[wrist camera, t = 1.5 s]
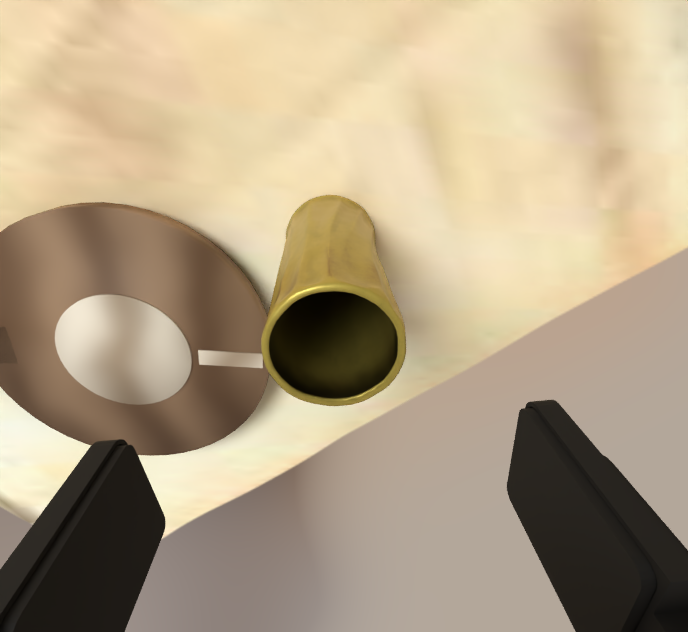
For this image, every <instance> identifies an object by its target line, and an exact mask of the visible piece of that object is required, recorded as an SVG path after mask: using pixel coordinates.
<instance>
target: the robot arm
mask: <svg viewBox="0 0 688 632" xmlns="http://www.w3.org/2000/svg"><path fill="white" fill-rule="evenodd" d="M507 491H508V495H509V498H510V501H511V503H512V505H513V507H514V509H515V511H516V513H517V515H518V517H519V519H520V521H521V523H522V525H523V527H524V529H525V531H526V533H527V535H528V537H529V539H530V541H531V543H532V545H533V547H534V549H535V551H536V553H537V555H538V557H539V559H540V561H541V563H542V565H543V567H544V569H545V571H546V573H547V575H548V577H549V579H550V581H551V583H552V585H553V587H554V589H555V591H556V593H557V595H558V597H559V599H560V601H561V603H562V605H563V607H564V609H565V611H566V613H567V615H568V617H569V619H570V621H571V623H572V625H573V627H574V629H575V631H576V632H688V550H687V549H686V548H685V547H684V545H683V544H682V543H681V542H680V541H679V540H678V538H677V537H676V536H675V535H674V534H673V533H672V532H671V530H670V529H669V528H668V527H667V526H666V524H665V523H664V522H663V521H662V520H661V519H660V517H659V516H658V515H657V514H656V513H655V512H654V511H653V509H652V508H651V507H650V506H649V505H648V504H647V502H646V501H645V500H644V499H643V498H642V497H641V496H640V494H639V493H638V492H637V491H636V490H635V488H634V487H633V486H632V485H631V484H630V483H629V482H628V480H627V479H626V478H625V477H624V476H623V475H622V473H621V472H620V471H619V470H618V469H617V468H616V467H615V465H614V464H613V463H612V462H611V461H610V460H609V459H608V458H607V457H605V456H603V455H602V454H601V453H600V452H599V450H598V449H597V448H596V447H595V446H594V445H593V443H592V442H591V441H590V440H589V439H588V437H587V436H586V435H585V434H584V433H583V432H582V430H581V429H580V428H579V427H578V426H577V425H576V423H575V422H574V421H573V420H572V419H571V417H570V416H569V415H568V414H567V413H566V412H565V410H564V409H563V408H562V407H561V406H560V405H559V403H557V402H556V401H554V400H545V401H534V402H528V403H527V404H526V407H525V409H521V410H520V412H519V417H518V423H517V429H516V435H515V440H514V446H513V452H512V458H511V464H510V470H509V476H508V482H507ZM164 530H165V516H164V514H163V512H162V509H161V507H160V505H159V503H158V500H157V498H156V496H155V494H154V491H153V489H152V487H151V484H150V482H149V480H148V478H147V475H146V473H145V471H144V469H143V466H142V464H141V462H140V460H139V457H138V455H137V453H136V451H135V448H134V447H133V446H132V445H128V444H127V442H126V441H125V440H123V439H118V440H107V441H97V442H95V443H94V444H93V445H92V446H91V447H90V448H89V449H88V451H87V452H86V454H85V455H84V456H83V458H82V459H81V460H80V462H79V463H78V464H77V466H76V467H75V469H74V470H73V471H72V473H71V474H70V475H69V477H68V478H67V479H66V481H65V482H64V484H63V485H62V486H61V488H60V489H59V490H58V492H57V493H56V494H55V496H54V497H53V499H52V500H51V501H50V503H49V504H48V505H47V507H46V508H45V509H44V511H43V512H42V514H41V515H40V516H39V518H38V519H37V520H36V522H35V523H34V524H33V526H32V527H31V529H30V530H29V531H28V533H27V534H26V535H25V537H24V538H23V539H22V541H21V542H20V544H19V545H18V546H17V548H16V549H15V550H14V552H13V553H12V554H11V556H10V557H9V558H8V560H7V561H6V563H5V564H4V565H3V567H2V568H1V569H0V632H125V629H126V626H127V624H128V621H129V619H130V616H131V614H132V611H133V609H134V606H135V604H136V601H137V599H138V596H139V594H140V591H141V589H142V586H143V584H144V581H145V579H146V576H147V574H148V571H149V568H150V566H151V563H152V561H153V558H154V556H155V553H156V551H157V548H158V546H159V543H160V541H161V538H162V536H163V533H164Z"/></svg>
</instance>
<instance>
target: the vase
mask: <svg viewBox="0 0 688 632" xmlns="http://www.w3.org/2000/svg"><path fill="white" fill-rule="evenodd" d="M261 350H262V356H263V360H264V363H265V366H266V368H267V370H268V372H269V373H270V375H271V376H272V377H273V379H274V380H275V381H276V382H277V383H278V385H279V386H280V387H281V388H282V389H283V390H285V391H286V392H287V393H289V394H291V395H292V396H294V397H296V398H298V399H300V400H303V401H306V402H310V403H314V404H320V405H327V406H343V405H352V404H355V403H359V402H362V401H365V400H367V399H369V398H370V397H372V396H374V395H376V394H377V393H379V392H380V391H382V390H383V389H385V388H386V387H387V386H389V385H390V384H391V382H392V381H393V380H394V379H395V377H396V376H397V374H398V373H399V371H400V369H401V367H402V365H403V362H404V359H405V354H406V336H405V326H404V322H403V318H402V315H401V313H400V311H399V308H398V306H397V303H396V301H395V298H394V296H393V293H392V291H391V288H390V286H389V283H388V280H387V278H386V275H385V272H384V270H383V267H382V265H381V263H380V261H379V259H378V255H377V252H376V249H375V231H374V227H373V224H372V222H371V220H370V218H369V216H368V215H367V213H366V212H365V210H364V209H363V208H362V207H361V206H359V205H358V204H357V203H355V202H353V201H351V200H349V199H347V198H344V197H341V196H336V195H326V196H320V197H316V198H313V199H311V200H309V201H307V202H306V203H304V204H303V205H302V206H300V207H299V208H298V209H297V210H296V212H295V213H294V214H293V216H292V217H291V219H290V222H289V224H288V227H287V231H286V242H285V246H284V252H283V256H282V259H281V263H280V267H279V271H278V275H277V280H276V284H275V288H274V292H273V297H272V301H271V305H270V309H269V313H268V316H267V320H266V323H265V327H264V330H263V333H262V337H261Z"/></svg>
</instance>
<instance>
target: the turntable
mask: <svg viewBox="0 0 688 632" xmlns="http://www.w3.org/2000/svg"><path fill="white" fill-rule="evenodd" d="M266 320H267V314H266V312H265V309H264V307H263V304H262V302H261V300H260V298H259V296H258V294H257V293H256V291H255V289H254V287H253V286H252V284H251V282H250V281H249V280H248V279H247V277H246V276H245V275H244V273H243V272H242V271H241V269H240V268H239V267H238V266H237V265H236V264H235V263H234V262H233V261H232V260H231V259H230V258H229V257H228V256H227V255H226V254H225V253H224V252H223V251H222V250H221V249H219V248H218V247H217V246H216V245H214V244H213V243H212V242H211V241H209V240H208V239H207V238H205V237H204V236H202V235H200V234H199V233H197V232H196V231H194V230H193V229H191V228H189V227H187V226H185V225H183V224H181V223H179V222H177V221H175V220H173V219H171V218H169V217H166V216H163V215H161V214H158V213H155V212H152V211H149V210H146V209H142V208H137V207H133V206H129V205H123V204H114V203H104V202H102V203H78V204H72V205H66V206H61V207H57V208H54V209H51V210H48V211H45V212H42V213H38V214H35V215H32V216H29V217H26V218H24V219H22V220H20V221H18V222H16V223H14V224H12V225H10V226H8V227H7V228H6V229H4V230H3V231H2V232H0V387H1V388H2V389H3V390H4V391H5V392H6V393H7V394H8V395H9V396H10V397H11V398H12V399H13V400H14V401H15V402H16V403H17V404H18V405H19V406H21V407H22V408H23V409H25V410H26V411H27V412H28V413H30V414H31V415H32V416H34V417H35V418H37V419H38V420H40V421H41V422H43V423H44V424H46V425H48V426H49V427H51V428H53V429H55V430H57V431H58V432H60V433H62V434H64V435H66V436H68V437H71V438H73V439H76V440H78V441H80V442H83V443H86V444H89V445H93V444H94V443H95V442H97V441H107V440H118V439H123V440H125V441H126V442H127V444H128V445H132V446H133V447H134V448H135V451H136V453H137V455H170V454H177V453H184V452H188V451H192V450H196V449H199V448H202V447H205V446H207V445H210V444H213V443H215V442H216V441H218V440H220V439H222V438H224V437H226V436H227V435H229V434H230V433H232V432H233V431H235V430H236V429H237V428H238V427H239V426H240V425H241V424H243V423H244V422H245V421H246V420H247V419H248V417H249V416H250V415H251V414H252V412H253V411H254V410H255V408H256V407H257V405H258V403H259V401H260V400H261V398H262V395H263V393H264V390H265V387H266V385H267V380H268V376H269V372H268V370H267V368H266V366H265V363H264V360H263V356H262V350H261V337H262V333H263V330H264V327H265V323H266Z"/></svg>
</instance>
